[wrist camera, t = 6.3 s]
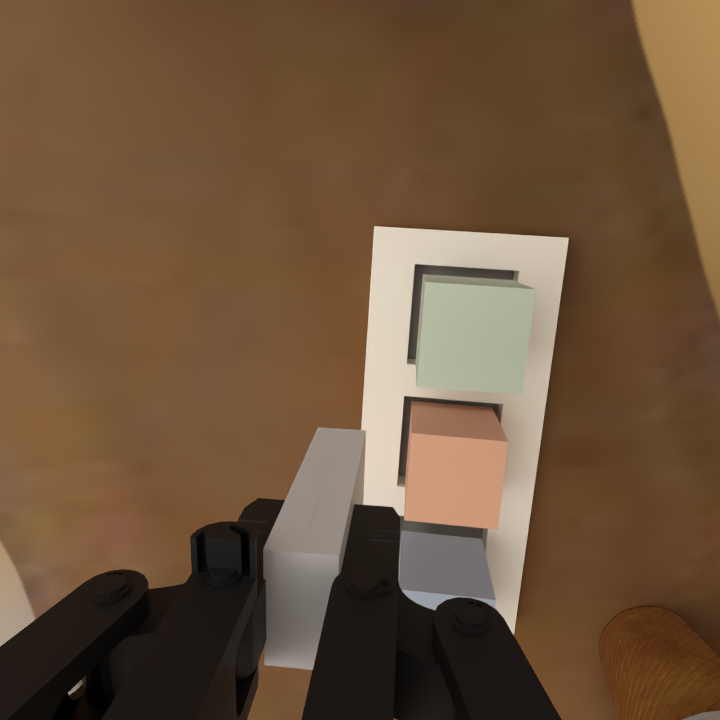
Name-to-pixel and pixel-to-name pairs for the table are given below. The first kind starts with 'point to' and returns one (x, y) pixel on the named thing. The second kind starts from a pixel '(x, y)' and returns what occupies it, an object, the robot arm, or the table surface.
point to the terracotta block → (454, 465)
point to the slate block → (443, 569)
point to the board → (398, 389)
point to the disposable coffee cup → (659, 667)
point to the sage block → (473, 334)
